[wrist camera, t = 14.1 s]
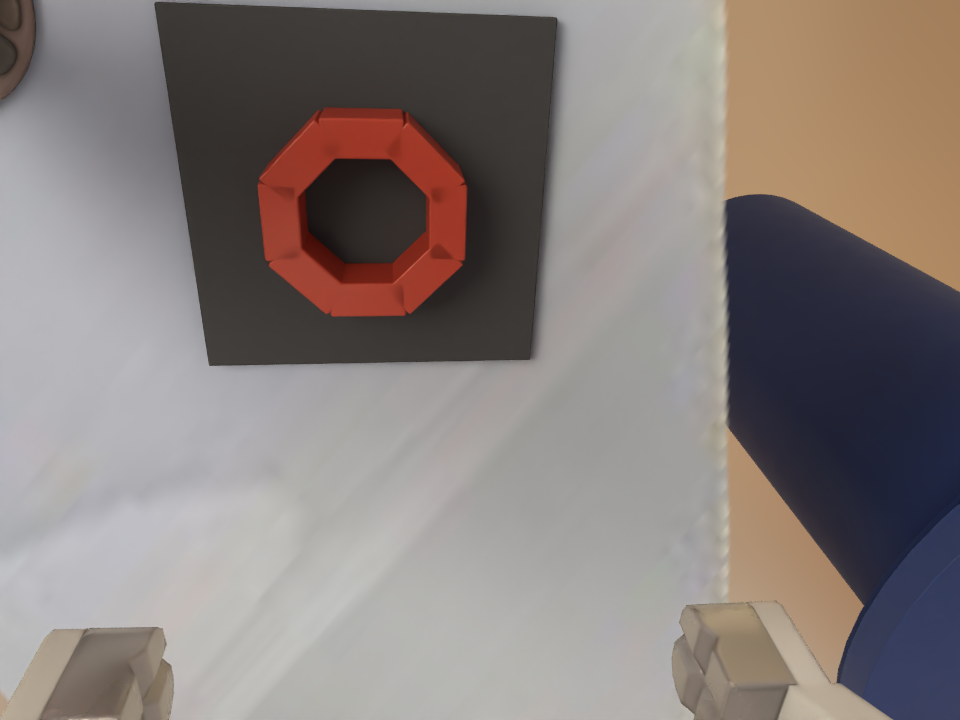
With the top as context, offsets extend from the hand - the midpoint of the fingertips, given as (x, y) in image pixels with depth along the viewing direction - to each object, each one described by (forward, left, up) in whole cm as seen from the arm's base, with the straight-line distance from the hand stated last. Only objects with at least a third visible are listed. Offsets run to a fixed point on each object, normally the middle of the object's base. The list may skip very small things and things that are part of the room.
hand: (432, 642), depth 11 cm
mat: (+1, -2, -17) cm, 17 cm away
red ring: (+1, -2, -16) cm, 17 cm away
